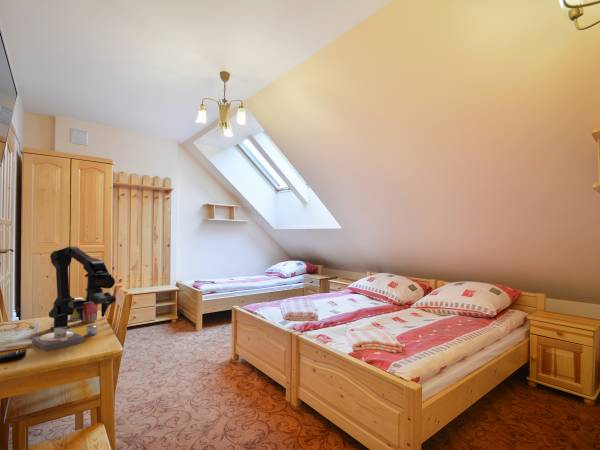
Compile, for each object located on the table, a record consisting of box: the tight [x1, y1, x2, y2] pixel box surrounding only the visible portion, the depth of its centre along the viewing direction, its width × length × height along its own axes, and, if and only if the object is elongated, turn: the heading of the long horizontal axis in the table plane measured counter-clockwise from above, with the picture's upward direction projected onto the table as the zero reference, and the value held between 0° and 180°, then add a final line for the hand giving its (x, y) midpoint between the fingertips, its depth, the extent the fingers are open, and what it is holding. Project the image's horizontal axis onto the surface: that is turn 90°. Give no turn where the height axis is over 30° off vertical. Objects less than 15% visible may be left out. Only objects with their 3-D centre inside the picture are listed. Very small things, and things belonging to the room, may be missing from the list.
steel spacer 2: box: [85, 324, 99, 337], centre depth 150 cm, size 4×4×4 cm
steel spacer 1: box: [53, 326, 68, 339], centre depth 137 cm, size 4×4×4 cm
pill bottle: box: [69, 297, 84, 321], centre depth 175 cm, size 6×6×12 cm
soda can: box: [81, 298, 99, 324], centre depth 171 cm, size 7×7×12 cm
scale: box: [31, 329, 85, 352], centre depth 138 cm, size 15×14×3 cm
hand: (92, 318), depth 151 cm, fingers open, 9 cm apart
